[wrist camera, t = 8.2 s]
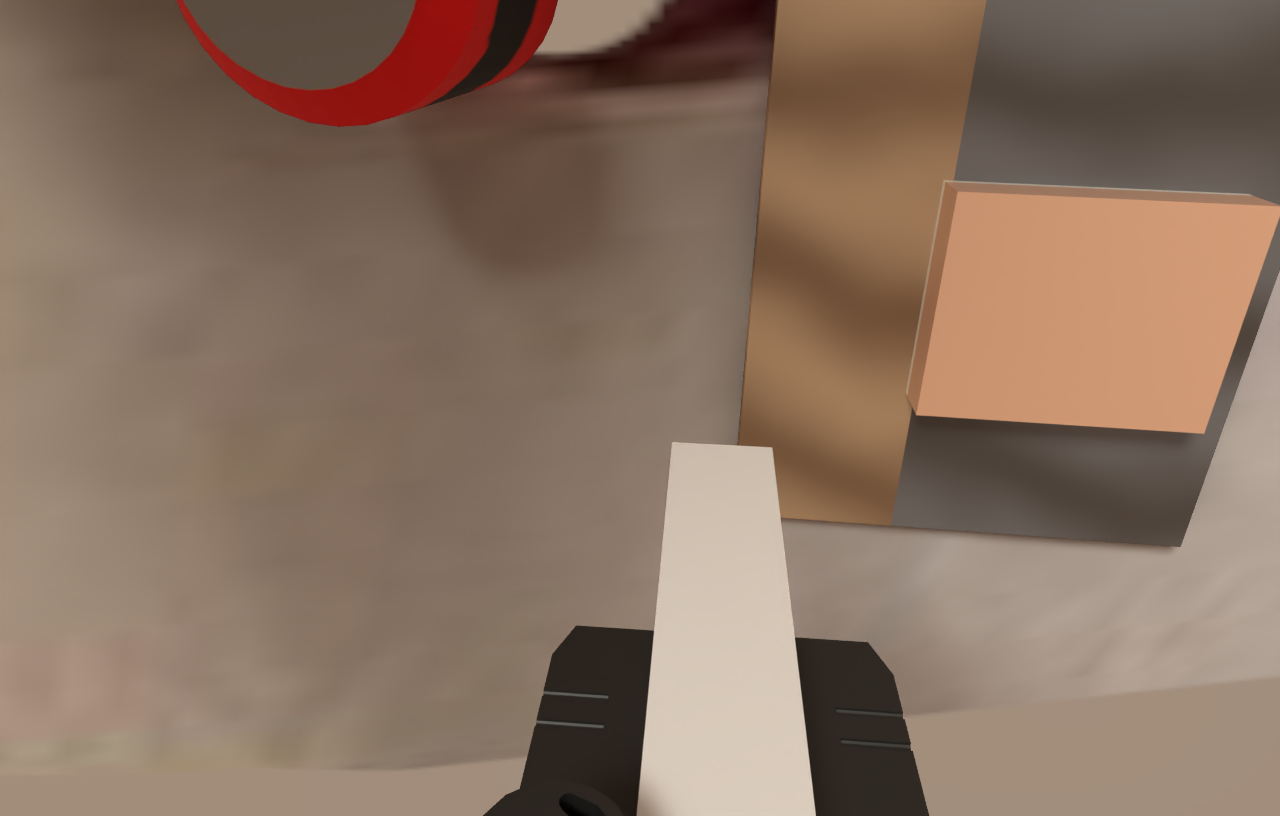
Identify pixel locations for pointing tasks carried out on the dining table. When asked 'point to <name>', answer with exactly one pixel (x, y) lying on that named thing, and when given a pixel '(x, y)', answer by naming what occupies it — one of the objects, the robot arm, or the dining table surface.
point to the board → (905, 223)
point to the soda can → (366, 51)
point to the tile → (1085, 303)
